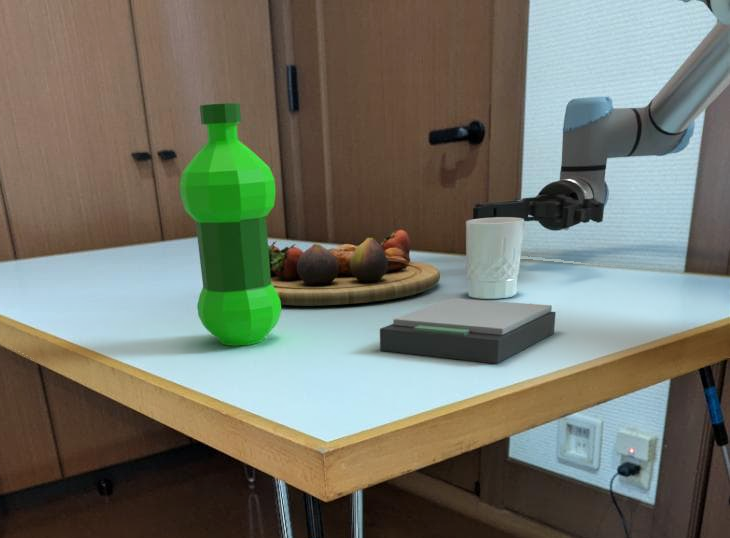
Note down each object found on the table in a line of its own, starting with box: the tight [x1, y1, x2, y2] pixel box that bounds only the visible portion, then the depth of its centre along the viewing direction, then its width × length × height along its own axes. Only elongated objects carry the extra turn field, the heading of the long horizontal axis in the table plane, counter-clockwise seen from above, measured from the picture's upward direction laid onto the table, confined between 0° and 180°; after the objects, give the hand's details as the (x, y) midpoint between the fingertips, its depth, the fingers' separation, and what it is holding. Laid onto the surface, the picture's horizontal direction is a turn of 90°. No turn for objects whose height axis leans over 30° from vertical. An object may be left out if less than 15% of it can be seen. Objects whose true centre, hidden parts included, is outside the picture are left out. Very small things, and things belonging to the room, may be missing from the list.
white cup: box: [465, 217, 525, 300], centre depth 112 cm, size 8×8×10 cm
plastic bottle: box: [179, 102, 282, 347], centre depth 91 cm, size 10×10×25 cm
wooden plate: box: [268, 229, 441, 307], centre depth 124 cm, size 32×32×8 cm
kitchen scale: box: [379, 297, 557, 365], centre depth 89 cm, size 14×15×3 cm
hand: (518, 218), depth 117 cm, fingers open, 13 cm apart
